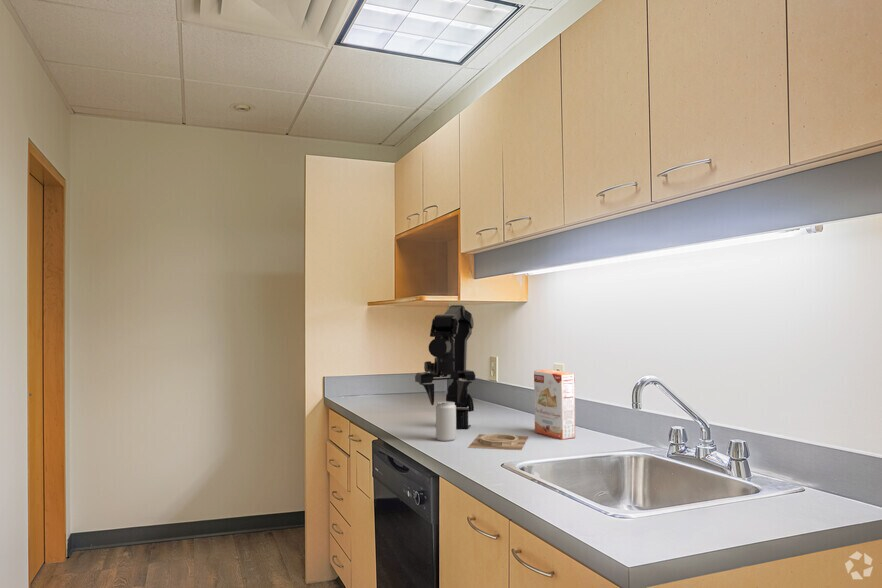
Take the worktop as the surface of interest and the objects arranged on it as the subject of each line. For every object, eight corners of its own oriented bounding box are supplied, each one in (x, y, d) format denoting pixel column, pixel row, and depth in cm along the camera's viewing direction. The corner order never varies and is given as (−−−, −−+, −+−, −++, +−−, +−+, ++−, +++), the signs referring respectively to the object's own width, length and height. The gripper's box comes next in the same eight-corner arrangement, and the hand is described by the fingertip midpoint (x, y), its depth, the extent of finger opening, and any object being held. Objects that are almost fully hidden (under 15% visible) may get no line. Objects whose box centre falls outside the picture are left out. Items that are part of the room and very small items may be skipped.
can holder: (479, 435, 212) (479, 430, 212) (528, 437, 209) (528, 432, 209) (467, 448, 193) (467, 443, 193) (521, 451, 189) (521, 445, 189)
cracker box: (533, 433, 216) (532, 370, 216) (547, 431, 219) (547, 368, 219) (561, 440, 203) (560, 373, 204) (576, 438, 207) (575, 372, 207)
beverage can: (432, 441, 204) (432, 403, 204) (442, 437, 210) (441, 400, 210) (450, 443, 201) (450, 404, 201) (459, 439, 207) (459, 401, 207)
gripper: (461, 351, 217) (461, 398, 217) (408, 354, 209) (409, 402, 209) (476, 354, 206) (476, 403, 206) (421, 356, 199) (422, 407, 199)
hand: (445, 403), depth 205 cm, fingers open, 9 cm apart
